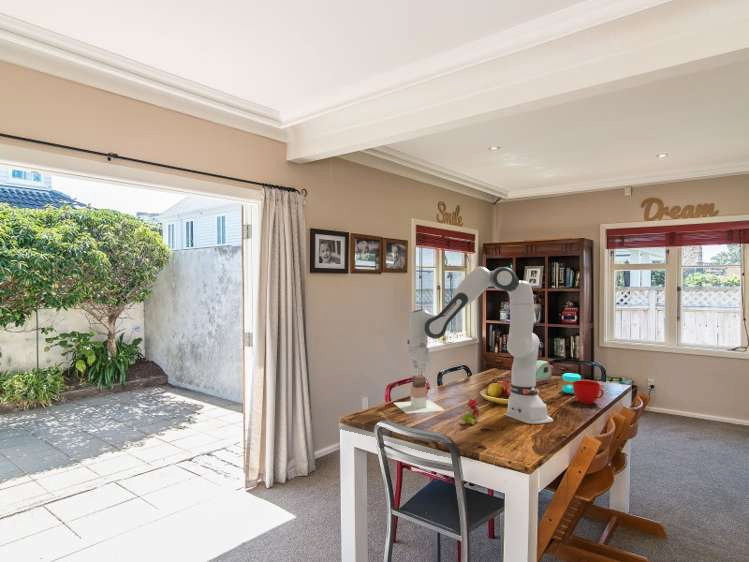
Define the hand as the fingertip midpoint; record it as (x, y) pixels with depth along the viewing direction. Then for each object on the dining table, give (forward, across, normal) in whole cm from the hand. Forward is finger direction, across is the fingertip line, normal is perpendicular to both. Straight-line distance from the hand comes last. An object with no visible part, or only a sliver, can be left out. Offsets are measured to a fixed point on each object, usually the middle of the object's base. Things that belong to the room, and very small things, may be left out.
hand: (419, 370), depth 238 cm
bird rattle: (+20, -28, -14) cm, 37 cm away
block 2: (+18, 0, 0) cm, 18 cm away
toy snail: (+20, +36, -94) cm, 103 cm away
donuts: (+21, +10, -96) cm, 99 cm away
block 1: (+13, 0, 0) cm, 13 cm away
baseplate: (+19, 0, 0) cm, 19 cm away
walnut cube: (+8, 0, 0) cm, 8 cm away
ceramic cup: (+21, -13, -90) cm, 93 cm away
